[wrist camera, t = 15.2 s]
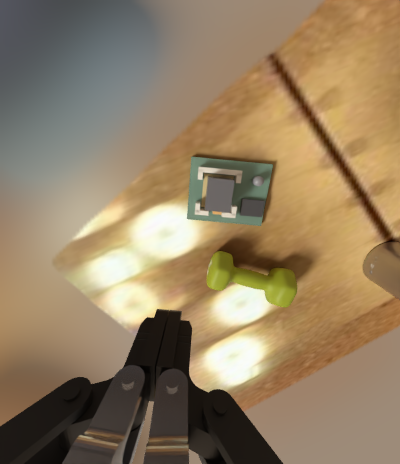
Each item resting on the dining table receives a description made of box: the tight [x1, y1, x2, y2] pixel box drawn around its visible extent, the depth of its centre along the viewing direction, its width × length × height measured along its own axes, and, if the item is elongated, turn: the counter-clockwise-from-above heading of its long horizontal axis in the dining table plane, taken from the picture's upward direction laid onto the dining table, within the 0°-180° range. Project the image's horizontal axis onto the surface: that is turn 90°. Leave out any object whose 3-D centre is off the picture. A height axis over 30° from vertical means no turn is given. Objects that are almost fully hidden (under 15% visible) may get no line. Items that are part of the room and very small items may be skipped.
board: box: [187, 157, 273, 226], centre depth 35 cm, size 14×11×3 cm
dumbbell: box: [207, 251, 297, 307], centre depth 38 cm, size 16×8×7 cm, turn 73°
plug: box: [205, 176, 235, 215], centre depth 33 cm, size 4×6×5 cm
